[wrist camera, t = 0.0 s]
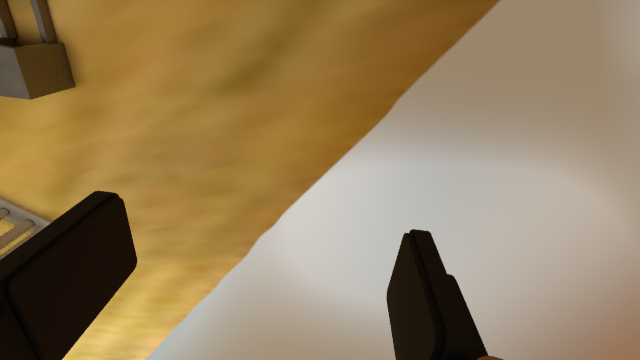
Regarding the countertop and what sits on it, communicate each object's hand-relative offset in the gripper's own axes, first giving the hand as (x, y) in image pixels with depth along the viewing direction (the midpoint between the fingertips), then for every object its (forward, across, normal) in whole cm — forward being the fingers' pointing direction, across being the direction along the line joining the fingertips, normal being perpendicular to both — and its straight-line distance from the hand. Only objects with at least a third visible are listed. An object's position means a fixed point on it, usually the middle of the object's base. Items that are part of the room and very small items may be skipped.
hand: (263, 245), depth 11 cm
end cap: (+37, +40, +3) cm, 54 cm away
